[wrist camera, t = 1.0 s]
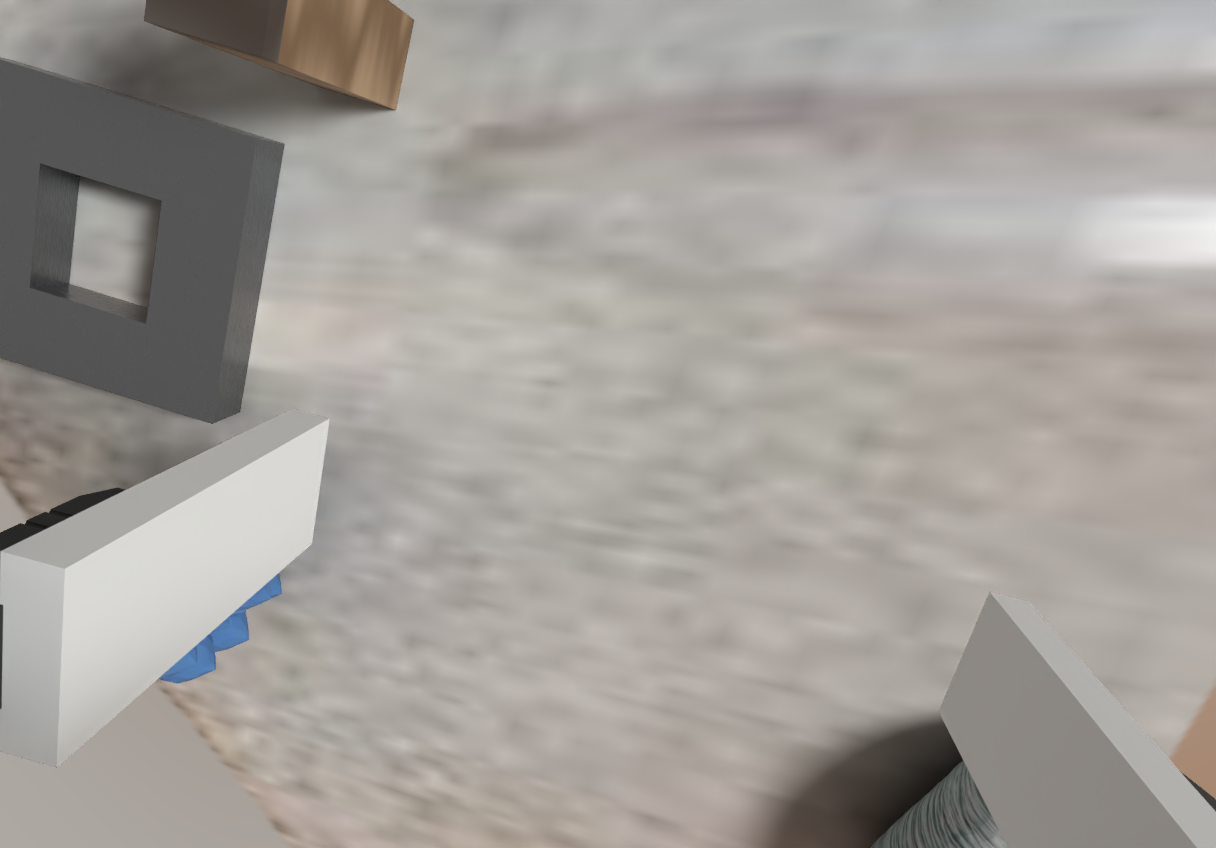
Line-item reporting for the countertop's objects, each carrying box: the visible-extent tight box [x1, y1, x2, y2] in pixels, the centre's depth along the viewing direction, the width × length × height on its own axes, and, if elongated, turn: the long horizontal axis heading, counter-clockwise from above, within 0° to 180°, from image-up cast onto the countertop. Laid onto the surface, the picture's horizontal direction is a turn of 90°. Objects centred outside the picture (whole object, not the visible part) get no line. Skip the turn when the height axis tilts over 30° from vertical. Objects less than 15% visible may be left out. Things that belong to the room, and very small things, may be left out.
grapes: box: [158, 573, 282, 683], centre depth 36 cm, size 12×7×12 cm, turn 153°
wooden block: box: [144, 0, 414, 110], centre depth 30 cm, size 4×4×12 cm
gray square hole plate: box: [0, 57, 284, 424], centre depth 38 cm, size 14×14×2 cm
